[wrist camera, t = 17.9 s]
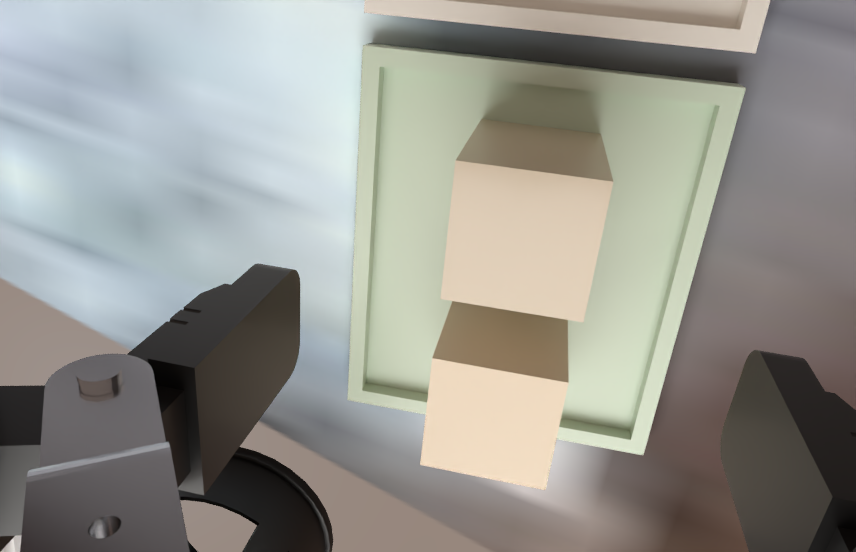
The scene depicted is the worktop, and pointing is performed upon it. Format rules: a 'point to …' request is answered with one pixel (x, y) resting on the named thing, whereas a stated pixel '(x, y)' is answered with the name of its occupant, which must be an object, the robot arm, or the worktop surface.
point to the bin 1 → (604, 18)
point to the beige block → (527, 219)
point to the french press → (270, 504)
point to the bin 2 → (621, 239)
